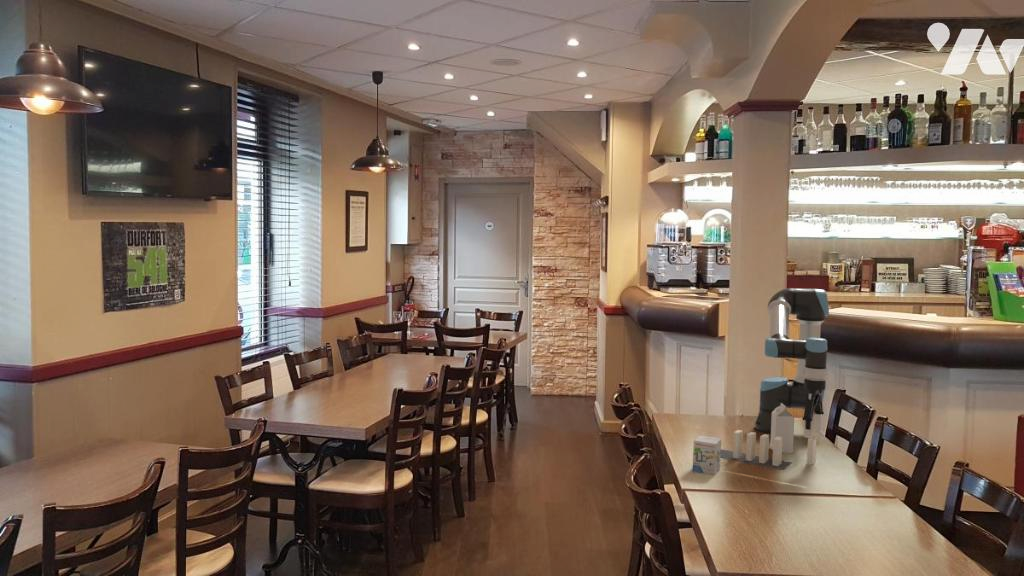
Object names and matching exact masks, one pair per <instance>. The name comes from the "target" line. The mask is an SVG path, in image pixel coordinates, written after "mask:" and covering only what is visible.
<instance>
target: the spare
mask: <svg viewBox="0 0 1024 576" xmlns="http://www.w3.org/2000/svg"><path fill="white" fill-rule="evenodd" d="M817 440H818V437H816V436H812V438H807V453H806V465H811V466H812V465H814V464H815V463H816V461H817V460H816V459H817V442H818V441H817Z"/></svg>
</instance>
